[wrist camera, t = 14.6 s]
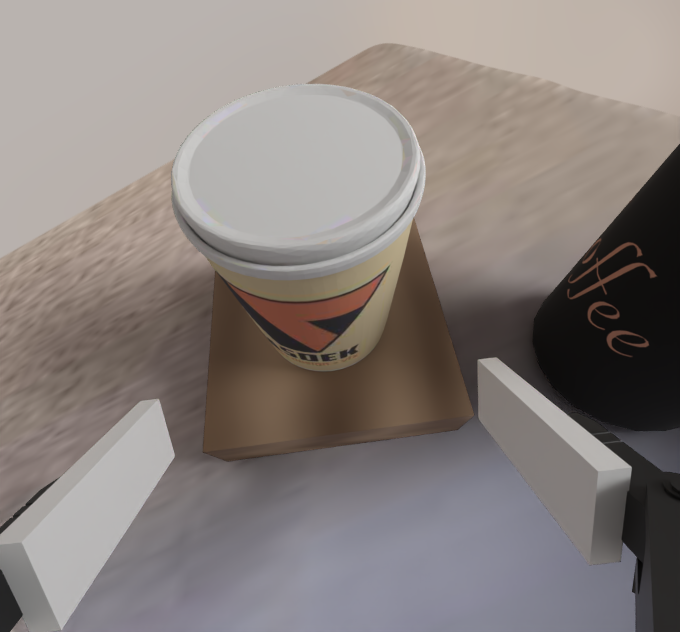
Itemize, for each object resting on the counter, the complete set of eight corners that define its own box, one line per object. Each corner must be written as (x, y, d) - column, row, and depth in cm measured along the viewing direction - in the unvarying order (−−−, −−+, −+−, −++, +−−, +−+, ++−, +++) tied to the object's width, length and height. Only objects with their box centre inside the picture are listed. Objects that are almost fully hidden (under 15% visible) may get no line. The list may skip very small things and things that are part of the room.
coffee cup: (233, 368, 21) (108, 232, 11) (280, 250, 26) (223, 71, 15) (385, 401, 20) (408, 279, 9) (408, 270, 24) (442, 86, 14)
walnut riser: (407, 250, 30) (413, 216, 27) (457, 429, 23) (474, 415, 19) (234, 274, 30) (217, 242, 26) (227, 461, 23) (202, 452, 19)
